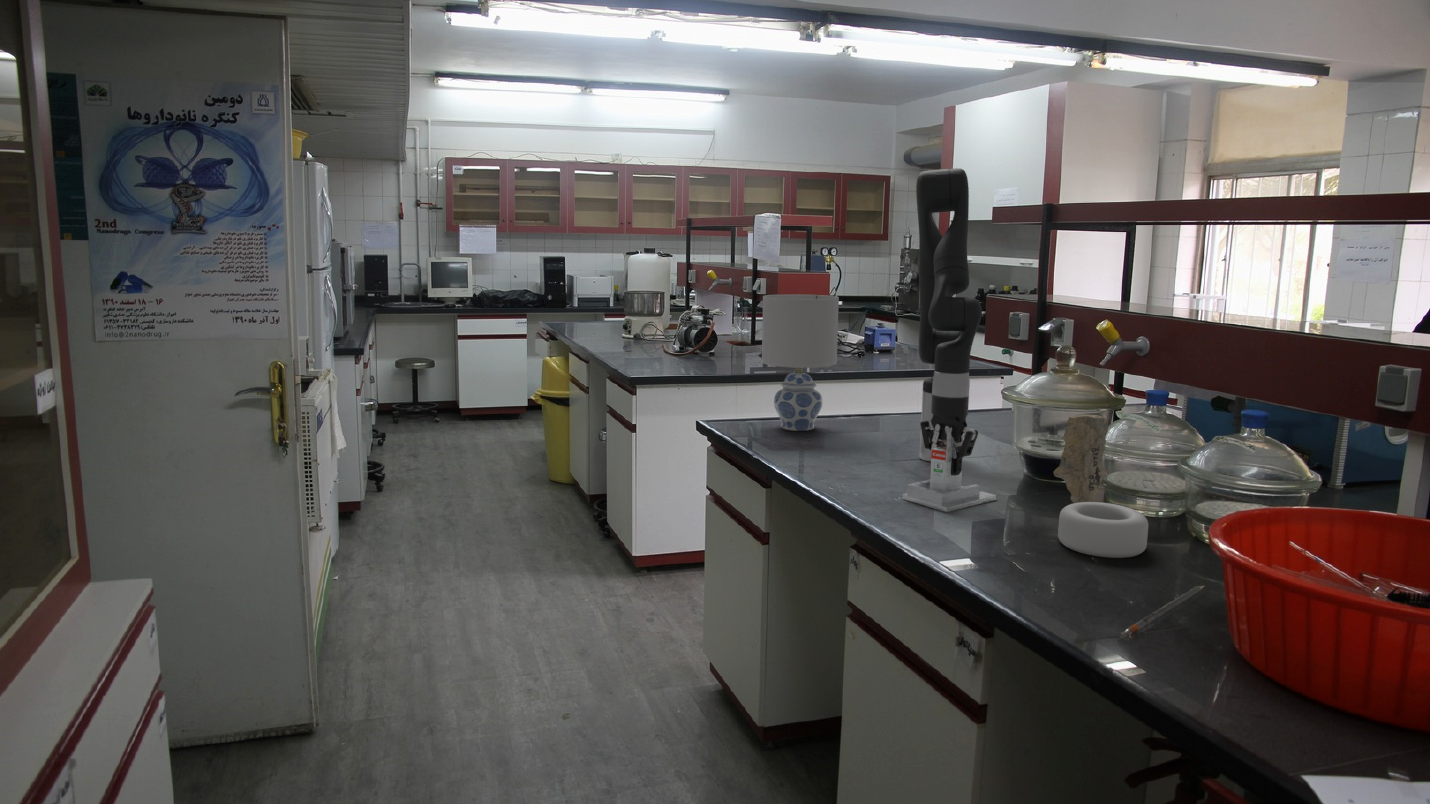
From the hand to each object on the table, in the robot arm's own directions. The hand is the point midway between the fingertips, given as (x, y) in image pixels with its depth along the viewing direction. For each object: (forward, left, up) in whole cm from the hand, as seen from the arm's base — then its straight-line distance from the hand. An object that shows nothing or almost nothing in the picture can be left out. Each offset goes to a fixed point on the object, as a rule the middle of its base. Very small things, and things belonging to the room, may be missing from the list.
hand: (946, 472), depth 199 cm
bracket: (-1, 0, -6) cm, 6 cm away
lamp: (-24, -75, -6) cm, 79 cm away
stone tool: (-18, +20, -6) cm, 28 cm away
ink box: (0, 0, -5) cm, 5 cm away
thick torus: (0, +36, -7) cm, 37 cm away
